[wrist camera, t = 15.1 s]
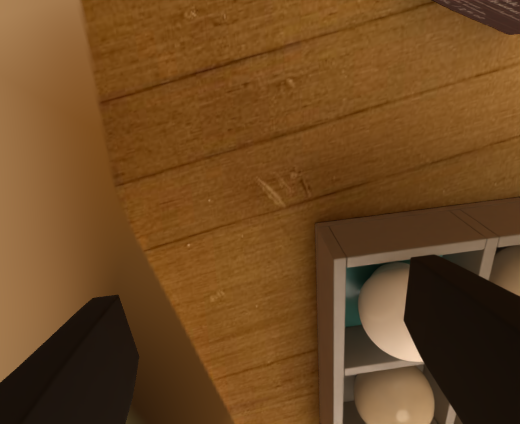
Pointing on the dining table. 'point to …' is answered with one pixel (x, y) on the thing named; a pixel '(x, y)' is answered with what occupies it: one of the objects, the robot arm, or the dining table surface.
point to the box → (489, 12)
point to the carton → (374, 256)
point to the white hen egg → (387, 311)
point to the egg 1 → (394, 396)
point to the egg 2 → (507, 269)
